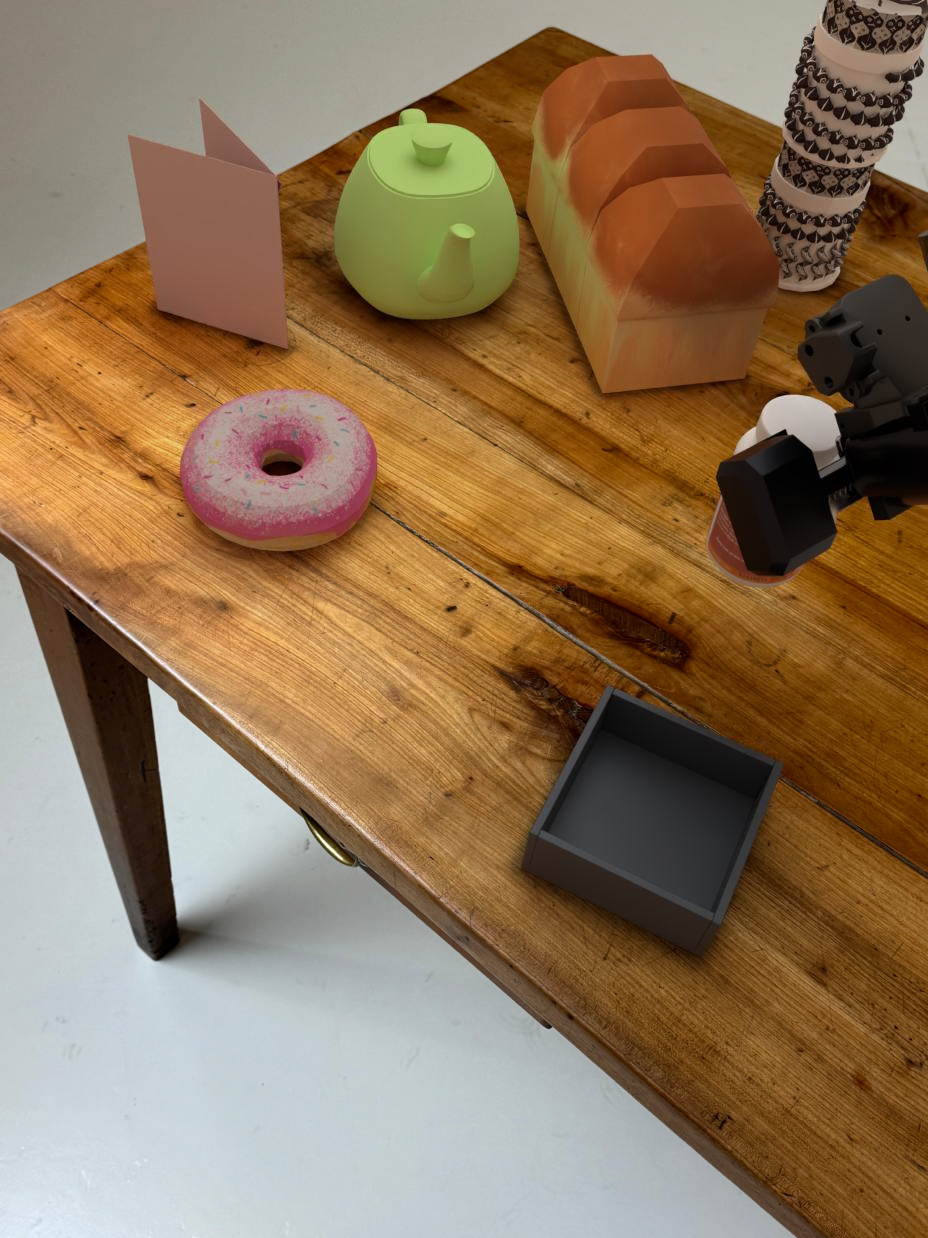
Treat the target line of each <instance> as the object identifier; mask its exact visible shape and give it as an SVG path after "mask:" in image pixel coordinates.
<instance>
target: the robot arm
mask: <svg viewBox="0 0 928 1238" xmlns="http://www.w3.org/2000/svg"><path fill="white" fill-rule="evenodd" d="M917 239H918V243H919V247H920V250H921V254H922V257H923V261H924V264H925V268H926V271H927V273H928V229H927V230H925V231H923V232H921V233H919V234H918V235H917ZM803 329H804V332H805V333H804V340H803V341H802V342H801V343H800V344H799V345H798V346H797V360H798V362H799V363H800V365H801V367H802V368H803V370H804V372H805V373H806V375H807V376H808V378H809V380H810V381H811V383H812V384H813V386H814V388H815V389H816V390H817V392H818V394H820V395H822V396H826V397H831V396H833V395H835V394H837V393H838V394H840V396H841V397H842V398H843V399H844V400H845V401H846V402H848V403H850V404H852V406H851V405H850V406H846V407H844V408H842V409H840V410H838V411H836V413H834V415H835V419H836V422H837V425H838V428H839V431H840V434H841V435H839V436H837V437H836V440H835V443H836V447H837V450H838V455H839V457H840V459H838V460H836V461H834V462H832V463H831V464H829V465H827V466H825V467H823V468H821V469H820V470H818V468H817V465H816V462H815V459H814V455H813V452H812V450H811V449H810V448H809V447H808V446H806V445H805V444H804V443H803V442H802V441H800V440H799V439H798V438H797V437H796V436H795V435H793V434H792V435H788V433H787V430H786V429H784V430H782V431H780V432H778V433H776V434H774V435H772V436H770V437H768V438H766V439H764V440H762V441H760V442H758V443H756V444H755V445H753V446H751V447H749V448H747V449H745V450H743V451H741V452H739V453H738V454H736V455H734V456H733V455H731V456H730V457H728V458H726V459H724V460H722V461H720V462H719V465H718V468H717V470H716V474H715V480H716V483H717V486H718V490H719V491H720V493H721V495H722V498H723V501H724V504H725V507H726V510H727V513H728V516H729V519H730V522H731V525H732V527H733V530H734V533H735V536H736V539H737V542H738V545H739V548H740V551H741V554H742V557H743V560H744V563H745V566H746V569H747V570H748V571H750V572H752V573H754V574H756V575H758V576H784V575H786V574H787V573H789V572H791V571H793V570H794V569H796V568H798V567H800V566H801V565H803V564H804V565H805V564H806V563H808V562H810V561H812V560H813V559H815V558H817V557H819V556H820V555H822V554H824V553H826V552H827V551H829V550H831V548H832V546H833V543H834V541H835V539H836V537H837V535H838V528H837V525H836V524H837V516H838V514H839V513H841V512H843V511H844V510H845V509H847V508H850V507H851V506H853V505H854V504H856V503H858V502H860V501H861V500H863V499H865V498H867V500H868V504H869V507H870V510H871V513H872V517H873V520H874V522H875V521H877V522H878V521H891V520H892V519H894V518H896V517H897V516H899V515H901V514H902V513H904V512H906V511H908V510H909V509H911V508H913V507H915V506H928V309H927V308H926V306H925V305H924V303H923V301H922V300H921V298H920V297H919V295H918V294H917V292H916V291H915V289H914V288H913V286H912V284H911V283H910V282H909V281H908V280H907V279H906V278H905V277H904V276H901V275H899V274H897V273H889V274H887V275H883V276H882V277H880V278H877V279H875V280H874V281H871V282H869V283H866V284H865V285H862V286H861V287H858V288H856V289H853V290H851V291H849V292H848V293H845V294H844V295H843V296H842V297H841V298H840V299H838V300H837V301H836V302H835V303H834V304H833V305H832V306H831V307H830V308H828V309H827V310H826V311H824V312H822V313H820V314H818V315H816V316H813V317H812V318H809V319H807V320H806V321H805V323H804V325H803ZM804 565H803V566H804Z"/></svg>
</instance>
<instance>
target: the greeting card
mask: <svg viewBox="0 0 928 1238" xmlns="http://www.w3.org/2000/svg"><path fill="white" fill-rule="evenodd" d="M198 101H199V110H200V111H199V112H200V119H201V127H202V128H201V129H202V136H203V143H204V144H203V145H204V152H205V155H203V154H199V153H195V152H193V151H189V150H185V149H182V148H178V147H174V146H171V145H167V144H164V143H160V142H157V141H153V140H150V139H146V138H143V137H139V136H135V135H132V134H129V133H128V134H127V139H128V144H129V145H128V146H129V151H130V157H131V162H132V169H133V174H134V180H135V185H136V192H137V198H138V203H139V209H140V214H141V221H142V226H143V233H144V238H145V243H146V249H147V250H146V251H147V255H148V261H149V267H150V273H151V277H152V278H151V279H152V283H153V290H154V295H155V301H156V307H157V310H159V311H162V312H165V313H168V314H172V315H176V316H178V317H182V318H185V319H187V320H191V321H194V322H198V323H201V324H204V325H208V326H211V327H214V328H217V329H220V330H224V331H227V332H231V333H234V334H238V335H240V336H243V337H247V338H249V339H253V340H257V341H260V342H264V343H266V344H269V345H273V346H276V347H280V348H283V349H286V350H289V333H288V320H287V305H286V290H285V289H286V288H285V274H284V259H283V244H282V243H283V242H282V228H281V215H280V200H279V199H280V197H279V193H280V189H281V186H282V183H281V182H280V181H279V180H278V175H277V174H275V172H274V171H273V170H272V169H271V168H270V167H269V166H268V165H267V164H266V163H265V162H264V161H263V160H262V159H261V158H260V157H259V156H258V155H257V154H256V153H255V152H254V151H253V150H252V149H251V148H250V146H248V145H247V144H246V143H245V141H243V140H242V139H241V138H240V137H239V136H238V135H237V133H235V131H234V130H233V129H232V128H231V127H230V126H229V125H227V124H226V122H225V121H224V120H223V119H222V118H221V117H220V116H219V115H218V114H217V113H216V112H215V111H214V110H213V109H212V108H211V107H210V106H209V105H208V104H207V103H206V102H205V101H204V100H203V98H201V97H200V96H198Z"/></svg>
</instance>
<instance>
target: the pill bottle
mask: <svg viewBox="0 0 928 1238" xmlns="http://www.w3.org/2000/svg"><path fill="white" fill-rule="evenodd" d="M836 412H837V410H836V409H834V408H833V407H832V406H830V405H829V404H828V403H826V402H824V401H822V400H820V399H817V398H815V397H812V396H807V395H801V394H786V395H781V396H777V397H776V398H773V399H771V400H770V401H768V402H767V404H765V405H764V407H763V408H762V411H761V413H760V416H759V418H758V420H757V422H756V425H755V426H754V427H752V428H751V429H749V430H747V431H746V432H745V433H744V434H743V435H742V436H741V438H740V439H739V440H738V442H737V444H736V446H735V449H734V451H733V454H732V456H734V455H736V454H738V453H739V452H741V451H743V450H745V449H747V448H749V447H751V446H753V445H755V444H756V443H758V442H760V441H762V440H764V439H766V438H768V437H770V436H772V435H774V434H776V433H778V432H780V431H782V430H784V429H786V430H787V433H788V435H792V434H793V435H795V436H796V437H797V438H798V439H799V440H800V441H802V442H803V443H804V444H805V445H806V446H808V447H809V448H810V449H811V450H812V452H813V455H814V459H815V462H816V465H817V468H818V470H820V469H821V468H823V467H825V466H827V465H829V464H831V463H832V462H834V461H836V460H838V459H840V457H839V455H838V450H837V447H836V443H835V440H836V437H837V436H839V435H841V434H840V431H839V428H838V425H837V422H836V419H835V415H834V413H836ZM705 543H706V550H707V553H708V556H709V558H710V559H711V561H712V563H713V564H714V566H715V567H716V568H717V569H718V570H719V571H720V572H721V573H722V574H723V575H725V576H726V577H728V578H729V579H731V580H732V581H734V582H736V583H738V584H740V585H743V586H747V587H750V588H751V587H752V588H761V589H762V588H773V587H774V588H775V587H778V586H781V585H784V584H786V583H788V582H790V581H791V580H793V579H795V577H796V576H797V575H798V574H799V573H800V572H801V570H802V569H803V567H804V565H805V564H803V565H801V566H800V567H798V568H796V569H794V570H793V571H791V572H789V573H787V574H786V575H784V576H758V575H756V574H754V573H752V572H750V571H748V570H747V569H746V566H745V563H744V560H743V557H742V554H741V551H740V548H739V545H738V542H737V539H736V536H735V533H734V530H733V527H732V525H731V522H730V519H729V516H728V513H727V510H726V507H725V504H724V501H723V498H722V495H721V492H720V493H719V496H718V499H717V502H716V505H715V509H714V511H713V514H712V518H711V521H710V524H709V527H708V529H707V535H706V542H705Z"/></svg>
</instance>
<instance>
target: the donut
mask: <svg viewBox="0 0 928 1238" xmlns="http://www.w3.org/2000/svg"><path fill="white" fill-rule="evenodd" d="M179 462H180V463H179V478H180V482H181V483H180V484H181V486H182V487H181V488H182V491H183V495H184V499H185V501H186V503H187V505H188V506H189V509H190V510H191V512H192V513H193V514H194V515H195V516H196V517H197V519H199V520H200V521H201V522H202V523H203V524H204V525H205V526H206V527H207V528H208V529H210V530H211V531H212V532H213V533H215V534H217V535H219V537H222V538H224V540H227V541H229V542H232V543H234V544H238V545H239V546H243V547H246V548H251V549H256V550H261V551H271V552H290V551H291V552H292V551H300V550H307V549H311V548H315V547H318V546H322V545H325V544H327V543H329V542H332V541H334V540H336V539H338V538H340V537H342V536H343V535H344V534H345V533H347V532H348V531H349V530H351V529H352V528H353V527H354V526H355V525H356V524H357V523H358V521H359V520H360V519H361V517H362V515H364V513H365V511H366V510H367V509H368V507H369V505H370V502H371V500H372V497H373V495H374V494H375V493H374V492H375V488H376V484H377V479H378V451H377V448H376V445H375V442H374V439H373V437H372V435H371V434H370V432H369V430H368V428H367V427H366V426H365V424H364V423H363V422H362V420H361V418H359V416H358V415H357V414H356V413H355V412H354V411H353V410H352V409H351V408H350V407H349V406H348V405H345V404H344V403H343V402H341V401H340V400H338V399H337V398H334V397H331V396H329V395H326V394H324V393H322V392H317V391H312V390H308V389H307V390H306V389H301V388H300V389H299V388H277V389H267V390H262V391H256V392H252V393H248V394H244V395H242V396H239V397H237V398H233V399H232V400H229V401H227V402H225V403H223V404H221V405H220V406H218V407H217V408H214V409H213V410H212V411H210V412H209V413H208V414H207V415H206V416H205V417H204V418H202V420H201V421H199V423H198V424H197V425H196V427H194V430H193V431H192V433H191V434H190V436H189V438H188V440H187V441H186V444H185V446H184V449H183V452H182V454H181V456H180V461H179ZM277 462H290V463H295V464H296V465H298V466H300V467H301V469H300V470H299V471H296V472H294V473H290V474H287V475H286V474H285V475H269V474H268V473H266V472H265V471H264V470H263V468H264V467H265V466H268V465H270V464H272V463H277Z"/></svg>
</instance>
